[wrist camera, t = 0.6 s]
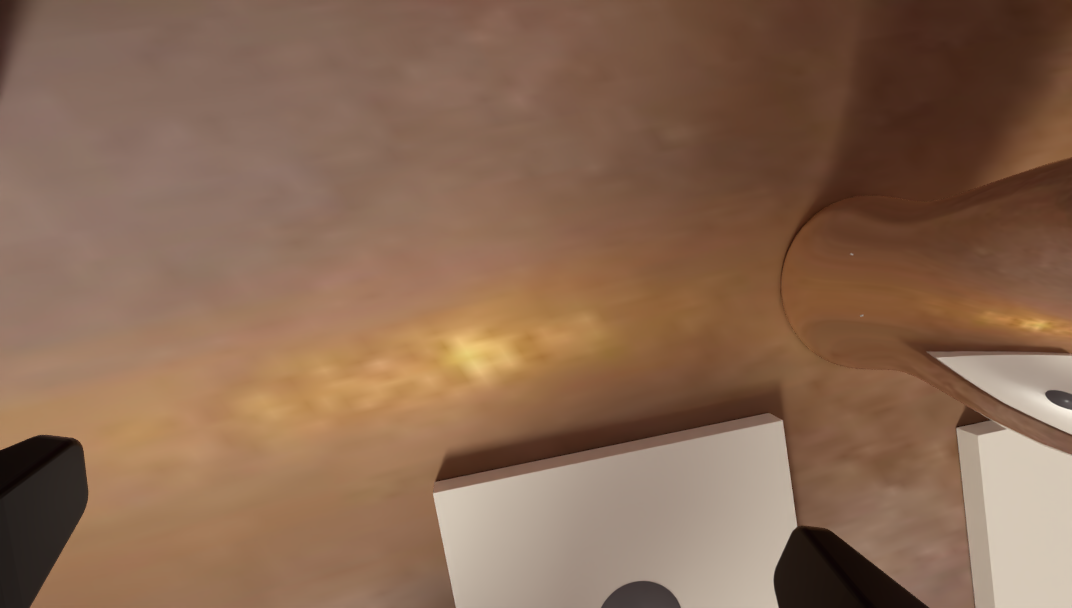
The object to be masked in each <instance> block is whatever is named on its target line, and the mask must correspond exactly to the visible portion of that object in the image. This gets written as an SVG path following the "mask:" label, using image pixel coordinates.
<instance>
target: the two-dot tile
mask: <svg viewBox="0 0 1072 608" xmlns="http://www.w3.org/2000/svg"><path fill="white" fill-rule="evenodd" d="M956 429H957V438H958V448H959V457H960V466H961V476H962V485H963V495H964V504H965V514H966V523H967V532H968V542H969V551H970V561H971V570H972V580H973V589H974V598H975V608H1072V461H1070V460H1068V459H1066V458H1063V457H1061V456H1059V455H1057V454H1055V453H1053V452H1051V451H1049V450H1047V449H1045V448H1043V447H1041V446H1039V445H1037V444H1035V443H1033V442H1031V441H1029V440H1027V439H1025V438H1023V437H1021V436H1019V435H1017V434H1015V433H1013V432H1011V431H1009V430H1008V429H1006V428H1004V427H1002V426H1000V425H999V424H997V423H995V422H993V421H992V420H990V421H985V422H981V423H976V424H971V425H967V426H962V427H957V428H956Z"/></svg>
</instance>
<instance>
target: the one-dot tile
mask: <svg viewBox="0 0 1072 608" xmlns="http://www.w3.org/2000/svg"><path fill="white" fill-rule="evenodd" d="M433 496H434V501H435V506H436V511H437V516H438V521H439V526H440V531H441V536H442V541H443V546H444V551H445V556H446V561H447V566H448V571H449V576H450V581H451V586H452V591H453V596H454V601H455V606H456V608H779V607H778V603H777V599H776V595H775V590H774V582H773V578H774V571H775V568H776V565H777V563H778V561H779V559H780V557H781V554H782V552H783V550H784V548H785V546H786V544H787V541H788V539H789V537H790V535H791V533H792V531H793V530H794V529H795V528H796V527H797V521H796V514H795V507H794V499H793V492H792V485H791V477H790V470H789V463H788V455H787V448H786V441H785V433H784V426H783V420H781V419H779V418H777V417H776V416H774V415H772V414H770V413H766V414H761V415H756V416H752V417H747V418H742V419H737V420H732V421H727V422H723V423H718V424H713V425H708V426H703V427H698V428H694V429H689V430H684V431H679V432H674V433H669V434H665V435H660V436H655V437H650V438H645V439H640V440H636V441H631V442H626V443H621V444H616V445H611V446H607V447H602V448H597V449H592V450H587V451H582V452H578V453H573V454H568V455H563V456H558V457H553V458H549V459H544V460H539V461H534V462H529V463H524V464H520V465H515V466H510V467H505V468H500V469H495V470H491V471H486V472H481V473H476V474H471V475H466V476H462V477H457V478H452V479H447V480H442V481H437V482H435V483H434V490H433Z"/></svg>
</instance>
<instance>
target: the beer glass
mask: <svg viewBox="0 0 1072 608" xmlns="http://www.w3.org/2000/svg"><path fill="white" fill-rule="evenodd" d="M781 295H782V302H783V307H784V311H785V314H786V317H787V319H788V321H789V324H790V325H791V327H792V329H793V331H794V332H795V334H796V335H797V337H798V338H799V339H800V340H801V341H802V343H803V344H804V345H805V346H806V347H807V348H809V349H810V350H811V351H812V352H813V353H815V354H816V355H818V356H819V357H821V358H822V359H824V360H826V361H828V362H831V363H833V364H836V365H839V366H843V367H848V368H855V369H868V370H895V371H900V372H904V373H907V374H909V375H912V376H915V377H917V378H919V379H920V380H922V381H924V382H926V383H928V384H930V385H932V386H933V387H935V388H937V389H939V390H940V391H942V392H944V393H945V394H947V395H949V396H950V397H952V398H954V399H955V400H957V401H959V402H961V403H962V404H964V405H966V406H967V407H969V408H971V409H973V410H974V411H976V412H978V413H980V414H981V415H983V416H985V417H987V418H988V419H990V420H992V421H993V422H995V423H997V424H999V425H1000V426H1002V427H1004V428H1006V429H1008V430H1009V431H1011V432H1013V433H1015V434H1017V435H1019V436H1021V437H1023V438H1025V439H1027V440H1029V441H1031V442H1033V443H1035V444H1037V445H1039V446H1041V447H1043V448H1045V449H1047V450H1049V451H1051V452H1053V453H1055V454H1057V455H1059V456H1061V457H1063V458H1066V459H1068V460H1070V461H1072V157H1070V158H1066V159H1062V160H1059V161H1055V162H1052V163H1048V164H1045V165H1042V166H1039V167H1036V168H1033V169H1030V170H1027V171H1024V172H1021V173H1018V174H1015V175H1012V176H1009V177H1006V178H1003V179H1000V180H997V181H994V182H991V183H989V184H986V185H983V186H980V187H977V188H974V189H971V190H968V191H966V192H963V193H959V194H956V195H953V196H949V197H946V198H943V199H938V200H932V201H912V200H906V199H901V198H895V197H888V196H879V195H863V196H855V197H850V198H846V199H843V200H840V201H838V202H835V203H833V204H831V205H829V206H827V207H826V208H824V209H822V210H821V211H819V212H818V213H817V214H815V215H814V216H813V217H812V218H811V219H810V220H809V221H808V222H807V223H806V224H805V225H804V226H803V227H802V228H801V230H800V231H799V232H798V234H797V235H796V237H795V238H794V240H793V242H792V244H791V246H790V248H789V250H788V252H787V255H786V258H785V261H784V265H783V270H782V277H781Z"/></svg>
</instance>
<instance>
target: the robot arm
mask: <svg viewBox="0 0 1072 608" xmlns="http://www.w3.org/2000/svg"><path fill="white" fill-rule="evenodd" d="M87 501H88V485H87V476H86V468H85V460H84V451H83V447H82V445H81V443H80V442H79V441H78V440H76V439H74V438H68V437H60V436H52V435H38V436H35V437H32V438H29V439H27V440H25V441H22V442H20V443H17V444H15V445H12V446H10V447H8V448H5V449H3V450H0V608H30V606H31V605H32V603H33V601H34V599H35V597H36V596H37V594H38V592H39V590H40V589H41V587H42V585H43V583H44V582H45V580H46V578H47V576H48V575H49V573H50V571H51V569H52V568H53V566H54V564H55V562H56V561H57V559H58V557H59V555H60V553H61V552H62V550H63V548H64V546H65V545H66V543H67V541H68V539H69V538H70V536H71V534H72V532H73V531H74V529H75V527H76V525H77V524H78V522H79V520H80V518H81V517H82V515H83V513H84V510H85V508H86V505H87ZM773 582H774V590H775V595H776V599H777V603H778V607H779V608H929V607H928V606H926V605H925V604H924V603H922V602H921V601H920V600H919V599H917V598H916V597H915V596H913V595H912V594H911V593H910V592H908V591H907V590H906V589H905V588H903V587H902V586H901V585H899V584H898V583H897V582H896V581H894V580H893V579H892V578H890V577H889V576H888V575H887V574H885V573H884V572H883V571H882V570H880V569H879V568H878V567H876V566H875V565H874V564H873V563H871V562H870V561H869V560H867V559H866V558H865V557H864V556H862V555H861V554H860V553H859V552H857V551H856V550H855V549H853V548H852V547H851V546H850V545H848V544H847V543H846V542H844V541H843V540H842V539H841V538H839V537H838V536H837V535H836V534H834V533H833V532H832V531H830V530H828V529H825V528H819V527H811V526H798V527H796V528H795V529H794V530H793V531H792V533H791V535H790V537H789V539H788V541H787V544H786V546H785V548H784V550H783V552H782V554H781V557H780V559H779V561H778V563H777V565H776V568H775V571H774V578H773Z"/></svg>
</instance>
